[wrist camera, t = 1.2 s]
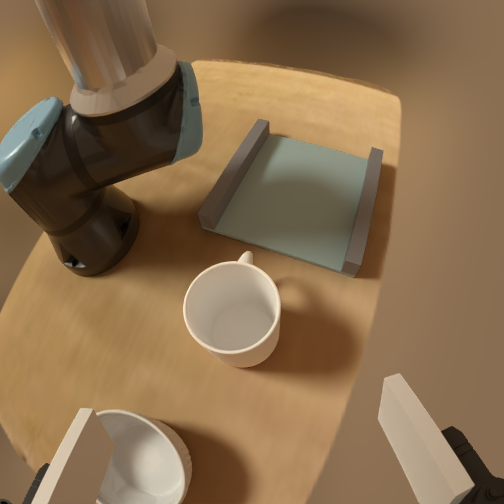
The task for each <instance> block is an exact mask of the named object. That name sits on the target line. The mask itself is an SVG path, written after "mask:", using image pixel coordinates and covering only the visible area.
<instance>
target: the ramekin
mask: <svg viewBox="0 0 504 504" xmlns="http://www.w3.org/2000/svg"><path fill="white" fill-rule="evenodd" d="M96 415H97V416H98V418H99V420H100V421H101V423H102V425H103V426H104V428H105V429H106V431H107V433H108V434H109V436H110V437H111V439H112V440H113V442H114V443H115V445H116V446H115V449H114V452H113V454H112V457H111V460H110V463H109V465H108V468H107V471H106V474H105V477H104V479H103V482H102V485H101V488H100V491H99V494H98V497H97V500H96V502H97V503H98V504H181V503H182V501H183V500H184V498H185V496H186V494H187V491H188V486H189V484H190V481H191V478H192V462H191V456H190V455H189V451H188V449H187V447H186V445H185V444H184V442H183V440H182V439H181V438H180V437H179V435H178V434H177V433H175V431H174V430H173V429H171V428H170V427H169V426H167V425H165V424H164V423H162V422H160V421H158V420H156V419H153V418H150V417H147V416H145V415H143V414H140V413H137V412H134V411H130V410H122V409H114V410H105V411H101V412H98V413H96Z"/></svg>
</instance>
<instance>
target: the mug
mask: <svg viewBox="0 0 504 504" xmlns="http://www.w3.org/2000/svg"><path fill="white" fill-rule="evenodd" d="M183 313H184V319H185V323H186V326H187V328H188V330H189V332H190V333H191V335H192V336H193V338H194V339H195V340H196V341H197V342H198V343H199V344H201V345H202V346H203V347H204V348H205V349H206V350H208V351H209V352H210V353H211V354H212V355H214V356H215V357H216V358H217V359H219V360H220V361H221V362H223V363H225V364H227V365H230V366H233V367H240V368H243V367H251V366H254V365H257V364H259V363H261V362H263V361H264V360H265V359H267V358H268V357H269V356H270V355H271V353H272V352H273V351H274V349H275V347H276V345H277V342H278V338H279V331H280V316H281V299H280V294H279V292H278V289H277V287H276V285H275V283H274V282H273V280H272V279H271V278H270V277H269V276H268V274H266V273H265V272H264V271H263V270H261V269H260V268H258V267H256V266H254V265H253V254H252V252H250V251H246V252H245V253H243V255H242V256H241V257H240V259H239V260H238V262H237V261H230V262H223V263H219V264H216V265H214V266H211V267H209V268H208V269H206V270H205V271H203V272H202V273H201V274H199V275H198V276H197V277H196V278H195V280H194V281H193V282H192V284H191V285H190V287H189V289H188V291H187V293H186V296H185V300H184V306H183Z"/></svg>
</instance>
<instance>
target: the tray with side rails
mask: <svg viewBox="0 0 504 504" xmlns="http://www.w3.org/2000/svg"><path fill="white" fill-rule="evenodd" d="M382 157H383V150H380V149H376V148H373V147H372V149H371V152H370V156H369V159H368V160H367V159H364V158H361V157H358V156H354V155H351V154H347V153H344V152H341V151H337V150H333V149H330V148H326V147H322V146H319V145H315V144H311V143H307V142H303V141H299V140H294V139H290V138H286V137H281V136H277V135H272V134H270V132H269V121H267V120H261V119H258V120H257V122H256V123H255V124H254V126H253V127H252V129H251V130H250V132H249V133H248V135H247V136H246V138H245V139H244V141H243V142H242V144H241V145H240V147H239V148H238V150H237V151H236V153H235V154H234V156H233V157H232V159H231V160H230V162H229V163H228V165H227V167H226V168H225V170H224V171H223V173H222V174H221V176H220V177H219V179H218V181H217V182H216V184H215V185H214V187H213V189H212V190H211V192H210V193H209V195H208V197H207V198H206V200H205V202H204V203H203V205H202V206H201V208H200V210H199V211H198V213H197V215H198V218H199V220H200V223H201V226H202V228H203V229H206V230H209V231H212V232H215V233H218V234H221V235H224V236H227V237H230V238H234V239H237V240H240V241H243V242H246V243H249V244H252V245H255V246H258V247H261V248H264V249H267V250H271V251H274V252H277V253H280V254H283V255H286V256H289V257H292V258H295V259H298V260H301V261H304V262H307V263H310V264H313V265H316V266H320V267H323V268H326V269H329V270H332V271H335V272H338V273H341V274H344V275H347V276H350V277H353V278H354V277H355V275H356V274H357V272H358V270H359V268H360V266H361V263H362V259H363V255H364V251H365V247H366V242H367V238H368V233H369V229H370V224H371V219H372V214H373V209H374V204H375V199H376V194H377V188H378V182H379V176H380V170H381V164H382Z"/></svg>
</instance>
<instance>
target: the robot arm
mask: <svg viewBox="0 0 504 504" xmlns="http://www.w3.org/2000/svg"><path fill="white" fill-rule="evenodd" d="M35 2H36V4H37V7H38V9H39V11H40V13H41V15H42V17H43V19H44V22H45V24H46V26H47V28H48V30H49V32H50V34H51V36H52V38H53V40H54V42H55V44H56V46H57V48H58V50H59V52H60V54H61V56H62V58H63V60H64V62H65V64H66V66H67V68H68V70H69V72H70V73H71V75H72V77H73V79H74V81H75V85H74V87H73V90H72V92H71V96H70V104H68V105H66V106H63V102H62V100H60V99H59V98H57V97H51V98H47V99H45V100H43V101H41V102H39V103H38V104H37V105H35V106H34V107H32V108H31V109H30V110H29V111H28V112H27V113H25V114H24V115H23V116H22V117H21V118H20V119H19V120H18V121H17V122H16V123H15V125H14V126H13V127H12V128H11V129H10V131H9V132H8V133H7V134H6V136H5V137H4V139H3V141H2V142H1V144H0V183H1V184H2V186H3V187H4V189H5V192H7V193H8V194H9V195H10V196H11V197H12V198H13V200H14V201H15V202H17V204H18V205H19V206H20V207H21V208H22V209H23V210H24V211H25V212H26V213H27V214H28V215H29V216H30V217H31V218H32V219H33V220H34V221H35V222H36V223H37V224H38V225H39V226H40V227H41V228H42V229H43V230H44V231H45V232H46V233H47V234H48V236H49V238H50V241H51V243H52V245H53V247H54V249H55V252H56V254H57V256H58V258H59V259H60V261H61V262H62V263H63V264H64V265H65V266H66V267H67V268H68V269H70V270H71V271H72V272H73V273H75V274H78V275H82V276H92V275H96V274H100V273H102V272H104V271H106V270H108V269H110V268H111V267H113V266H114V265H115V264H117V263H118V262H119V261H120V260H121V259H122V258H123V257H124V256H125V255H126V253H127V252H128V251H129V249H130V248H131V246H132V244H133V242H134V240H135V238H136V235H137V232H138V227H139V216H138V212H137V210H136V208H135V206H134V204H133V203H132V201H131V200H130V198H129V197H128V196H127V195H126V194H125V193H124V192H122V191H121V190H119V189H118V188H116V187H115V186H113V185H112V184H115V183H118V182H120V181H123V180H126V179H129V178H132V177H134V176H137V175H140V174H143V173H146V172H149V171H152V170H155V169H158V168H162V167H165V166H168V165H173V164H174V163H175V162H177V161H179V160H182V159H185V158H187V157H190V156H192V155H194V154H195V153H197V152H198V150H199V149H200V147H201V144H202V139H203V124H202V113H201V106H200V103H199V93H198V86H197V82H196V77H195V74H194V71H193V68H192V66H191V64H190V63H189V62H187V61H177V59H176V56H175V54H174V52H173V51H172V50H170V49H169V48H167V47H165V46H162V45H159V44H156V40H155V37H154V33H153V29H152V26H151V22H150V18H149V15H148V11H147V7H146V3H145V0H35ZM378 420H379V422H380V424H381V426H382V428H383V430H384V432H385V434H386V436H387V438H388V440H389V442H390V444H391V446H392V448H393V450H394V452H395V454H396V456H397V458H398V460H399V462H400V464H401V467H402V468H403V471H404V472H405V475H406V477H407V479H408V481H409V483H410V485H411V487H412V490H413V492H414V494H415V495H416V498H417V500H418V502H419V504H504V479H502V478H496V477H494V476H493V475H492V474H491V473H490V472H489V470H488V469H487V468H486V466H485V464H484V463H483V462H482V460H481V459H480V457H479V456H478V454H477V453H476V451H475V450H473V447H472V446H471V445H470V443H468V440H467V439H466V437H465V436H464V434H463V433H462V432H461V431H459V430H458V429H456V428H454V427H453V426H451V427H449V428H447V429H445V430H443V431H440V430H439V429H438V427H437V426H436V424H435V423H434V421H433V420H432V418H431V417H430V416H429V414H428V413H427V411H426V410H425V408H424V407H423V405H422V404H421V402H420V401H419V400H418V398H417V397H416V395H415V394H414V392H413V391H412V390H411V388H410V387H409V385H408V384H407V383H406V381H405V380H404V378H403V377H402V376H401V374H400V373H398V374H395V375H392V376H389V377H385V378H384V384H383V391H382V397H381V403H380V409H379V415H378ZM115 446H116V445H115V443H114V442H113V440H112V439H111V437H110V436H109V434H108V433H107V431H106V429H105V428H104V426H103V425H102V423H101V421H100V420H99V418H98V416H97V415H96V413H95V411H94V410H93V409H88V408H80V410H79V412H78V413H77V415H76V417H75V419H74V421H73V422H72V424H71V426H70V428H69V430H68V431H67V433H66V435H65V437H64V439H63V441H62V443H61V444H60V446H59V448H58V450H57V452H56V454H55V456H54V458H53V460H52V462H51V464H48V463H46V464H45V465H44V466H42V467H41V468H40V469H39V471H38V473H37V475H36V477H35V480H34V481H33V483H32V486H31V487H30V489H29V491H28V493H27V495H26V497H25V499H24V502H23V504H95V503H96V500H97V497H98V494H99V491H100V488H101V485H102V482H103V479H104V477H105V474H106V471H107V468H108V465H109V463H110V460H111V457H112V454H113V452H114V449H115ZM0 504H12V503H11V502H9V501H8V500H5V499H0Z"/></svg>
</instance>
